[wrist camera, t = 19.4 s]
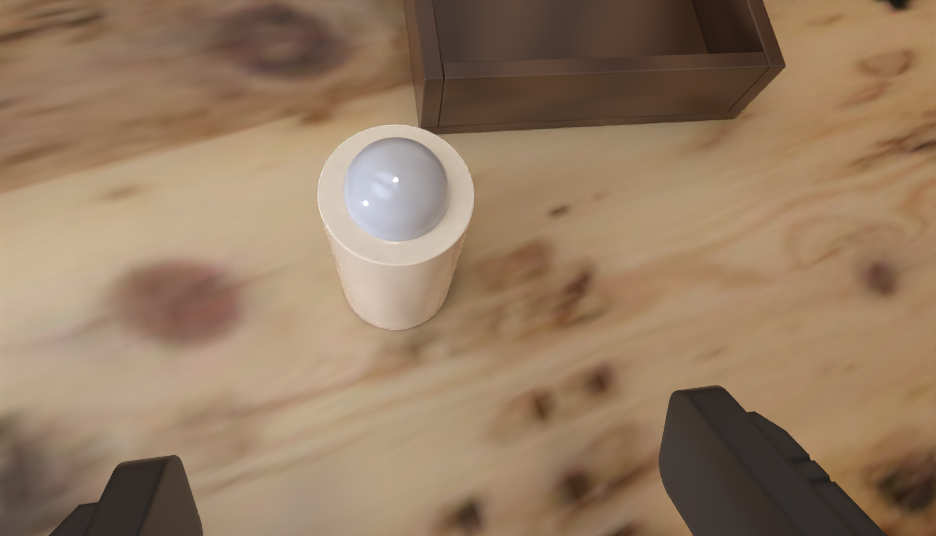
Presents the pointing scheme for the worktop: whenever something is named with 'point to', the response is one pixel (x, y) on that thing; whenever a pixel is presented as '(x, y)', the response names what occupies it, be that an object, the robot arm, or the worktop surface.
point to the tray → (586, 61)
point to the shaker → (395, 221)
